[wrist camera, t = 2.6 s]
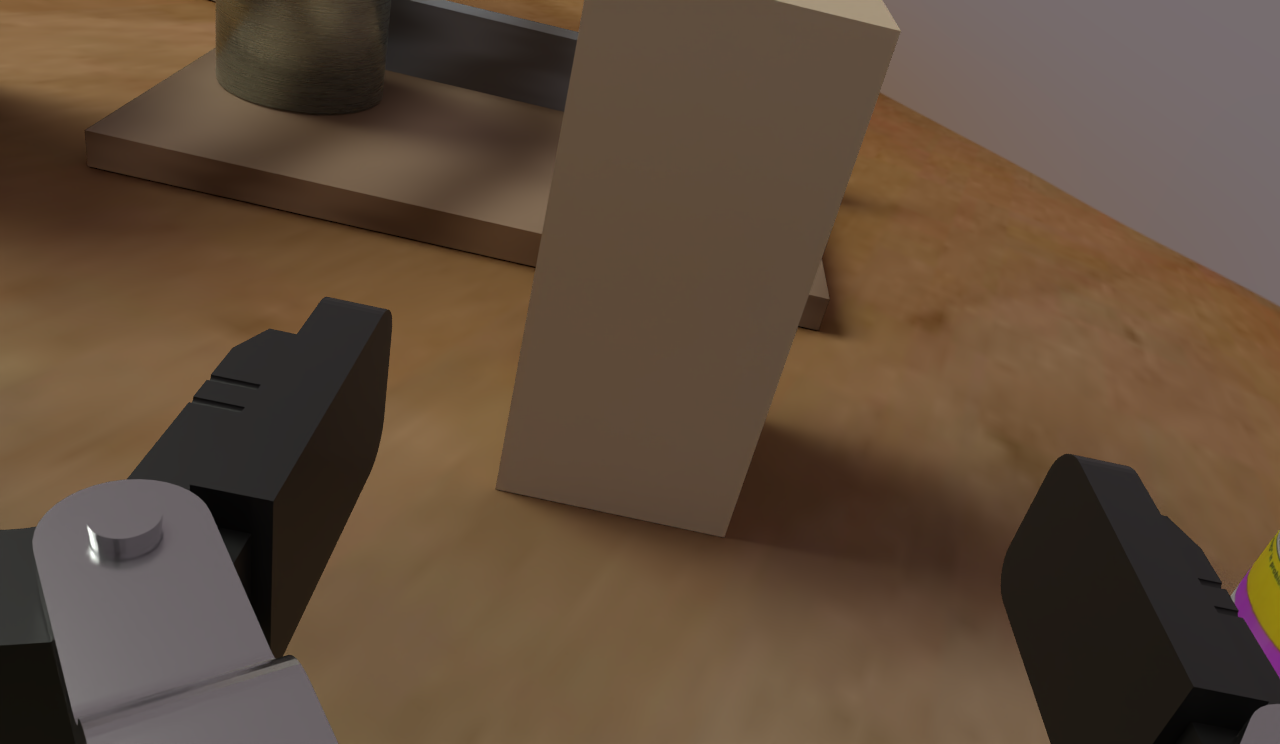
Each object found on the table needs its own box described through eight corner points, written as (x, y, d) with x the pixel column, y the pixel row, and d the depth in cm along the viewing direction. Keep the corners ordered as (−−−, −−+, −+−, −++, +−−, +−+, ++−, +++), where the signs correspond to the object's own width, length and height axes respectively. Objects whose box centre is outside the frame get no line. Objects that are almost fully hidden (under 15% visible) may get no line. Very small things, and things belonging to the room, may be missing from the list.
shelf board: (87, 166, 33) (77, 34, 30) (248, 55, 44) (249, -48, 41) (818, 330, 34) (859, 215, 32) (793, 182, 45) (823, 89, 43)
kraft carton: (495, 489, 24) (592, -45, 18) (532, 362, 29) (619, -93, 22) (724, 537, 24) (900, 30, 18) (723, 404, 29) (862, -33, 23)
